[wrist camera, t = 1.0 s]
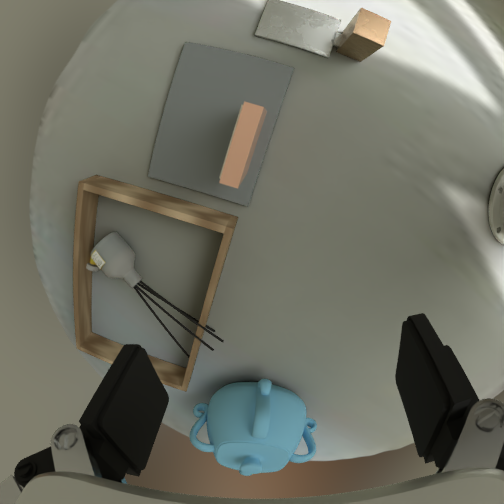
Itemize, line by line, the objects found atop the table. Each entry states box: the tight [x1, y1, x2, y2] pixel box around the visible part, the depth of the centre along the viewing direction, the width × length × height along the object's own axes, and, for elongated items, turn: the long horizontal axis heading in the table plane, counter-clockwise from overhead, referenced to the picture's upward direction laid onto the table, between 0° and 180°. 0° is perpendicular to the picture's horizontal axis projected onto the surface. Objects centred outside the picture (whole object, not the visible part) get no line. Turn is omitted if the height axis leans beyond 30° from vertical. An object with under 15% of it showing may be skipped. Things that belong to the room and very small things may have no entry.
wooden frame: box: [73, 175, 238, 391], centre depth 38 cm, size 19×27×4 cm
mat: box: [148, 42, 294, 207], centre depth 31 cm, size 12×16×1 cm
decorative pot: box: [190, 379, 317, 476], centre depth 41 cm, size 16×16×14 cm
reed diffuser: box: [86, 232, 224, 358], centre depth 38 cm, size 10×7×20 cm
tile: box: [219, 101, 267, 189], centre depth 27 cm, size 2×7×8 cm, turn 163°
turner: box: [255, 0, 391, 62], centre depth 22 cm, size 11×5×8 cm, turn 73°
